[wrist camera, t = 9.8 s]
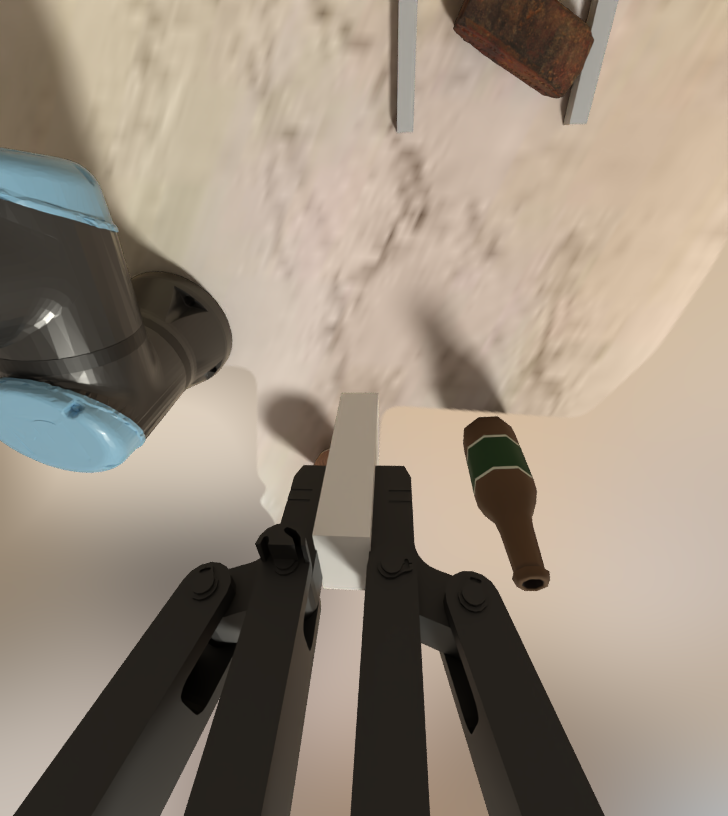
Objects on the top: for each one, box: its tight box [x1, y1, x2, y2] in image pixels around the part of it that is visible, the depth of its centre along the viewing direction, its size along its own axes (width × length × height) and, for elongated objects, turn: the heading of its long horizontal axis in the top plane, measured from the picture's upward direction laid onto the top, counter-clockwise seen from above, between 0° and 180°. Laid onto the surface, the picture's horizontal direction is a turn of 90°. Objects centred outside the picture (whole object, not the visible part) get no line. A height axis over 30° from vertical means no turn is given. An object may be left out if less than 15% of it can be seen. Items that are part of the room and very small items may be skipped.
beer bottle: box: [463, 417, 550, 591], centre depth 47 cm, size 8×8×24 cm
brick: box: [453, 0, 594, 98], centre depth 29 cm, size 11×4×5 cm, turn 65°
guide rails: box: [397, 0, 618, 133], centre depth 31 cm, size 17×10×2 cm, turn 92°
